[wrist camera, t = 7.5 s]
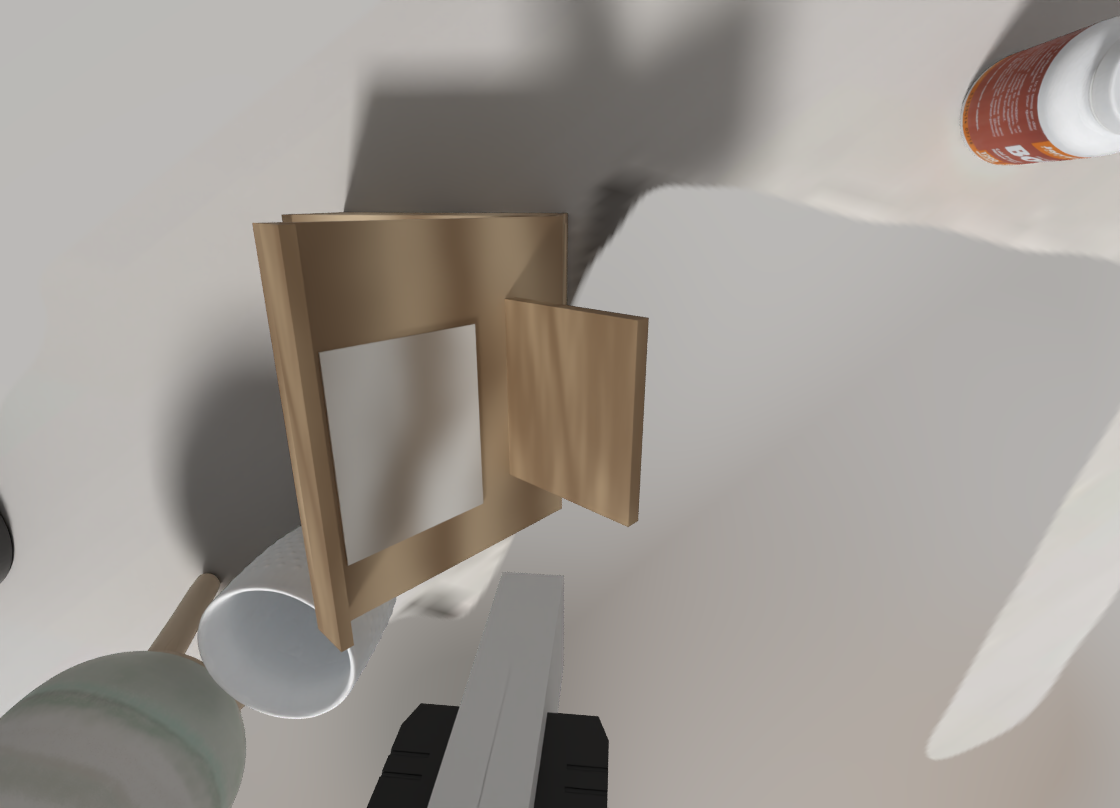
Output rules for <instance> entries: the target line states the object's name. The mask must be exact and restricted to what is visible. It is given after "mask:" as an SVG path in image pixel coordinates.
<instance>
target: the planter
mask: <svg viewBox="0 0 1120 808" xmlns="http://www.w3.org/2000/svg"><path fill="white" fill-rule="evenodd" d="M219 587H220V582H219V580H218V578H217V577H216V576H215V575H213V574H209V573H206V574H202V575H200V576H199V577H198V578H197V579H196V580H195V582H194V583H193V584H192V586H191V587H190V588H189V590H188V592H187V593H186V595H185V596H184V598H183V599H182V601H181V602H180V604H179V605H178V607H177V609H176V610H175V612H174V613H173V615H172V616H171V618H170V619H169V621H168V622H167V624H166V625H165V627H164V628H163V629H162V631H161V632H160V634H159V635H158V637H157V638H156V640H155V641H154V642H153V644H152V645H151V647H150V648H149V650H148V651H133V652H123V653H117V654H111V655H107V656H102V657H99V658H95V659H92V660H89V661H86V662H83V663H81V664H78V665H76V666H74V667H71V668H69V669H67V670H65V671H63V672H61V673H60V674H58V675H56V676H54V677H53V678H51V679H49V680H48V681H46V682H45V683H43V684H42V685H40V686H39V687H37V688H36V689H34V690H33V691H32V692H30V693H29V694H28V695H27V696H25V697H24V698H23V699H22V700H20V701H19V702H18V703H17V704H16V705H14V706H13V707H12V708H11V709H10V710H9V711H8V712H6V713H5V714H4V715H3V716H2V717H1V718H0V808H231V807H232V805H233V803H234V800H235V798H236V795H237V793H238V790H239V787H240V784H241V781H242V777H243V772H244V766H245V758H246V738H245V729H244V724H243V720H242V716H241V711H240V710H241V709H242V708H243V707H244V706H245V705H243V704H242V703H240V702H238V701H237V700H235V699H234V698H233V697H231V696H230V695H229V694H228V693H226V692H225V691H224V690H223V689H222V688H221V687H220V686H219V685H218V684H217V683H216V681H215V680H214V679H213V678H212V677H211V675H210V674H209V672H208V670H207V669H206V667H205V665H204V663H203V662H202V661H200V660H198V659H196V658H194V657H191V656H188V655H186V654H185V653H186V651H187V649H188V647H189V645H190V643H191V642H192V640H193V638H194V636H195V634H196V632H197V631H198V627H199V623H200V620H201V617H202V615H203V613H204V611H205V610H206V608H207V607H208V606H209V604H210V603H211V602H212V601H213V599H214V597H215V595H216V593H217V592H218V590H219Z"/></svg>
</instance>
